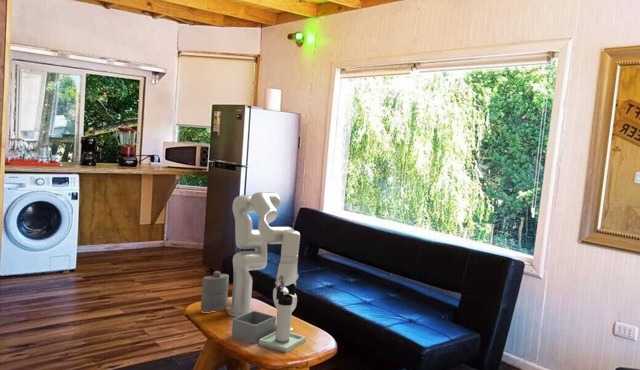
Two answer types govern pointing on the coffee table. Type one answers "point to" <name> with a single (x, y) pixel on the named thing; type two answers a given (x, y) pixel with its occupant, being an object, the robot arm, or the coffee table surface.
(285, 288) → the heart sculpture
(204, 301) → the flask
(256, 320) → the deep bin
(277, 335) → the travel mug
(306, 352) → the coffee table surface
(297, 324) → the coffee table surface
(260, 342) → the tray
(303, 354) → the coffee table surface
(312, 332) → the coffee table surface
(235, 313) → the robot arm
